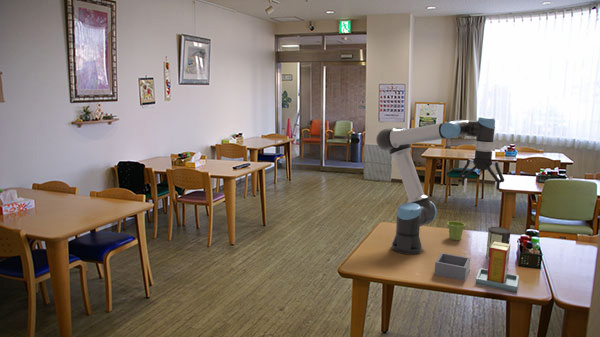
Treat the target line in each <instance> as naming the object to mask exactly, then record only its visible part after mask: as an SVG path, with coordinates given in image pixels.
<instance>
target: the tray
mask: <svg viewBox="0 0 600 337" xmlns="http://www.w3.org/2000/svg"><path fill="white" fill-rule="evenodd" d="M487 274H488V268H487V269H486V268H482V267H481V268H479V270H478V272H477V275H476V278H475V285H479V286H484V287H488V288H493V289H499V290H502V291H503V290H504V291H508V292H513V293H517V291H518V285H519V277H520V275H518V274H512V273H508V272H507V279H506V281H505V283H500V282H495V281H490V280H487Z"/></svg>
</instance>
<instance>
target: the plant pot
mask: <svg viewBox="0 0 600 337" xmlns="http://www.w3.org/2000/svg"><path fill="white" fill-rule="evenodd" d="M447 225H448V226H447V227H448V234H449V235H448V237H449V239H450V240H453V241H460V240H461V239H462V237H463V236H462V235H463V232H464V229H465V226H466V223H464V222H461V221H453V220H452V221H448V222H447Z"/></svg>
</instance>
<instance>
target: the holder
mask: <svg viewBox="0 0 600 337" xmlns="http://www.w3.org/2000/svg"><path fill="white" fill-rule="evenodd" d="M470 264H471V257H467V256H461V255H456V254H452V253H451V254H449V253H445V252H441V253H440V254H439V256H438V258H437V259H436V260H435V264H434V272H433V273H434V276H439V277H443V278H447V279H453V280H458V281H463V282H465V281H466V279H467V277H468V274H469V272H470V268H471V265H470Z"/></svg>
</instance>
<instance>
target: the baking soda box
mask: <svg viewBox="0 0 600 337" xmlns="http://www.w3.org/2000/svg"><path fill="white" fill-rule="evenodd" d="M510 251H511V244H510V243H509V244H506V243H501V242H496V241H494V242H493V244H492V245H491V247H490V254H489V258H488V265H487V270H488V274H487V280H490V281H495V282H500V283H505V281H506V279H507V273H508V271H509V270H508V269H509V261H510V260H509V259H510Z"/></svg>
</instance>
